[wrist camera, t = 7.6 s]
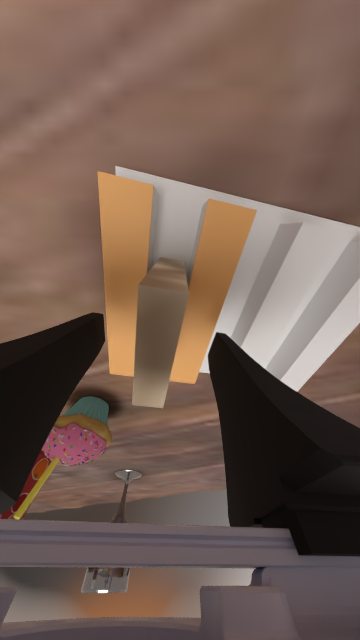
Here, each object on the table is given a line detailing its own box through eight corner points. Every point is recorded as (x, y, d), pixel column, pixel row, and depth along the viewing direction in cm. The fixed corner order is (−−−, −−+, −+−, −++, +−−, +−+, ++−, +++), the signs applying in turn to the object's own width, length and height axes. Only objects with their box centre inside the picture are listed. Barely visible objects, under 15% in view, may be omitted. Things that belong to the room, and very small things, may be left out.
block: (183, 261, 13) (189, 293, 6) (169, 336, 17) (162, 408, 10) (160, 257, 13) (138, 284, 6) (151, 333, 17) (132, 404, 10)
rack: (382, 235, 13) (443, 235, 10) (276, 378, 21) (291, 400, 18) (118, 169, 10) (95, 144, 8) (120, 358, 19) (110, 379, 16)
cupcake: (67, 414, 26) (-9, 539, 15) (63, 382, 22) (-45, 522, 11) (119, 421, 27) (81, 541, 16) (124, 393, 23) (77, 527, 12)
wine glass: (139, 481, 42) (122, 591, 29) (111, 478, 41) (79, 592, 28) (147, 471, 39) (130, 592, 26) (115, 467, 37) (81, 593, 24)
